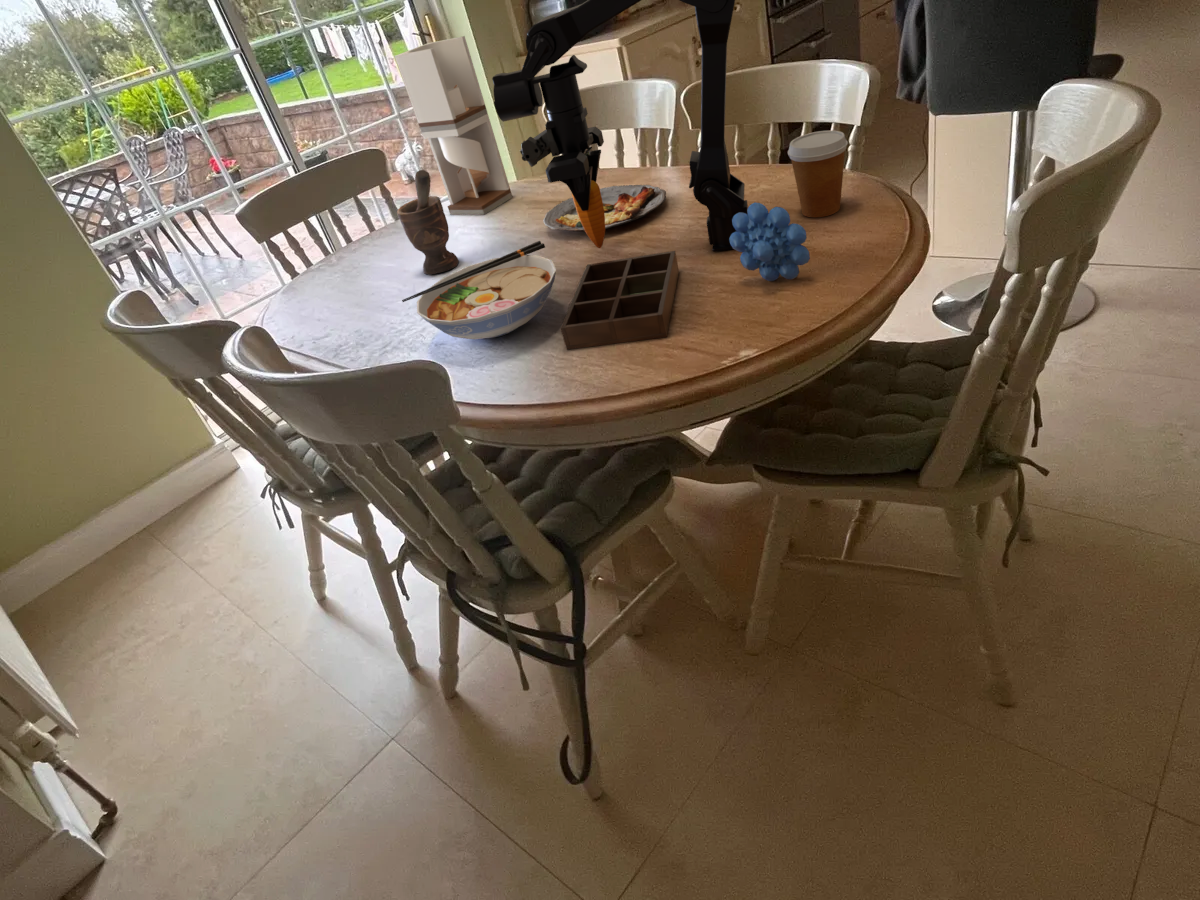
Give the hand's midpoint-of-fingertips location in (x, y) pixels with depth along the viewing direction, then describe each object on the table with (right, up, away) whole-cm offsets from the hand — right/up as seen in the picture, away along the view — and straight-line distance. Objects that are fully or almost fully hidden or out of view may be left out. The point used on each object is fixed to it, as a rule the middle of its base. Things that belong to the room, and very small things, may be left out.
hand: (588, 204), depth 126 cm
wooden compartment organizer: (+6, -20, -11) cm, 23 cm away
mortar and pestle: (-29, -5, +23) cm, 37 cm away
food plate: (+3, +6, +26) cm, 26 cm away
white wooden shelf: (-26, +17, +53) cm, 61 cm away
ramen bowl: (-14, -22, -6) cm, 27 cm away
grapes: (+27, -17, -15) cm, 36 cm away
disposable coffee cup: (+40, 0, +2) cm, 40 cm away
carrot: (+2, -7, +4) cm, 8 cm away
